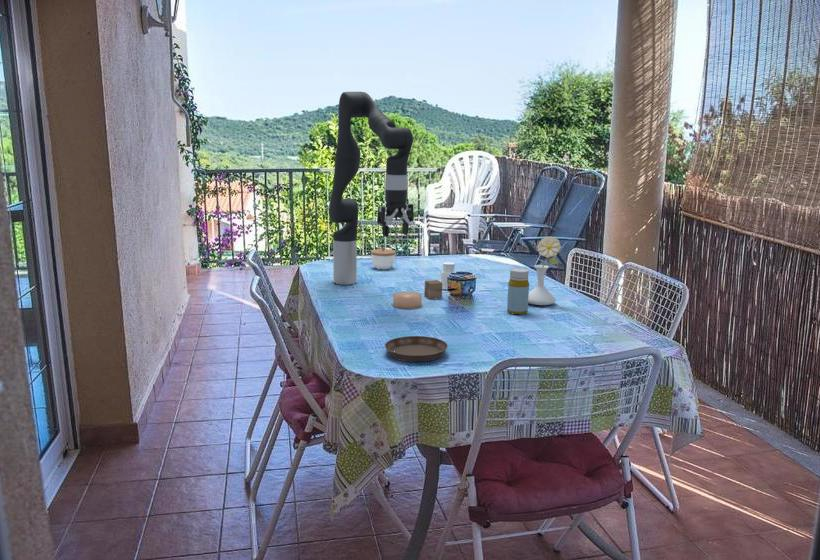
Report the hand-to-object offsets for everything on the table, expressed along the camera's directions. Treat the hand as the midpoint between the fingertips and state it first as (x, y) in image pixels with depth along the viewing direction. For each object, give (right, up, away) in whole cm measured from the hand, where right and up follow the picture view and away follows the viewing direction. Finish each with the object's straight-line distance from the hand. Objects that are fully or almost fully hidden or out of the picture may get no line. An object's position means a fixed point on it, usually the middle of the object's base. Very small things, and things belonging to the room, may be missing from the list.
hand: (395, 235), depth 252 cm
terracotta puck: (+4, -24, +9) cm, 26 cm away
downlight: (+20, -19, +35) cm, 44 cm away
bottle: (+42, -27, +1) cm, 50 cm away
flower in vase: (+52, -24, +13) cm, 59 cm away
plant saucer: (+7, -37, -44) cm, 58 cm away
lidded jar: (-7, -11, +69) cm, 70 cm away
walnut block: (+14, -22, +20) cm, 33 cm away
